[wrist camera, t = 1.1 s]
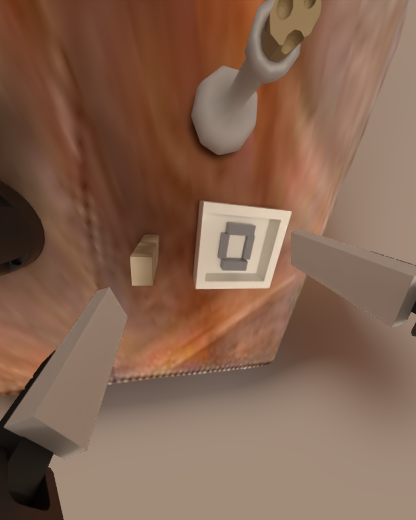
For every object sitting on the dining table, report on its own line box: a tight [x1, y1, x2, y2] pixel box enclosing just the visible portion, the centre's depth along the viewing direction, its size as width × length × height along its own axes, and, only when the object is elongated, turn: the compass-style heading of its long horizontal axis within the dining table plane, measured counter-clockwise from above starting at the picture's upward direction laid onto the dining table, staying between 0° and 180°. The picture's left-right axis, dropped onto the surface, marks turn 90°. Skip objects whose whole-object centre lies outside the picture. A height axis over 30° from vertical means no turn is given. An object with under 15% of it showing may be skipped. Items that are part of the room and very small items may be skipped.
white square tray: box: [193, 200, 292, 289], centre depth 31 cm, size 16×16×4 cm
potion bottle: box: [191, 0, 321, 155], centre depth 17 cm, size 9×9×18 cm
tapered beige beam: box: [130, 234, 159, 286], centre depth 25 cm, size 2×4×11 cm, turn 174°
